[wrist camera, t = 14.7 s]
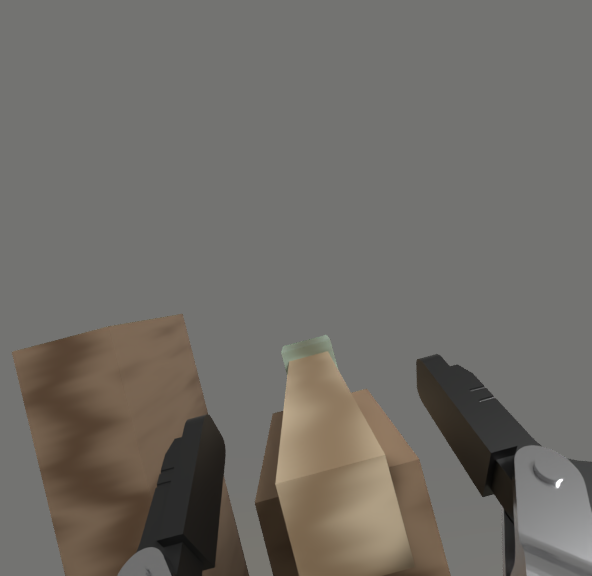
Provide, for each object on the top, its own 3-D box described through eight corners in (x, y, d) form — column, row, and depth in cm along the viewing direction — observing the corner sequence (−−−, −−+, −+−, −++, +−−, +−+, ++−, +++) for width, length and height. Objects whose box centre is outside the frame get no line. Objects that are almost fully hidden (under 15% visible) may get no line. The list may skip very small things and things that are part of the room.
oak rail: (290, 600, 9) (253, 459, 9) (294, 390, 28) (283, 346, 28) (429, 562, 9) (391, 422, 9) (338, 378, 28) (326, 334, 28)
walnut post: (141, 893, 16) (11, 351, 17) (204, 651, 27) (123, 329, 28) (242, 865, 16) (108, 326, 17) (264, 635, 27) (182, 313, 28)
